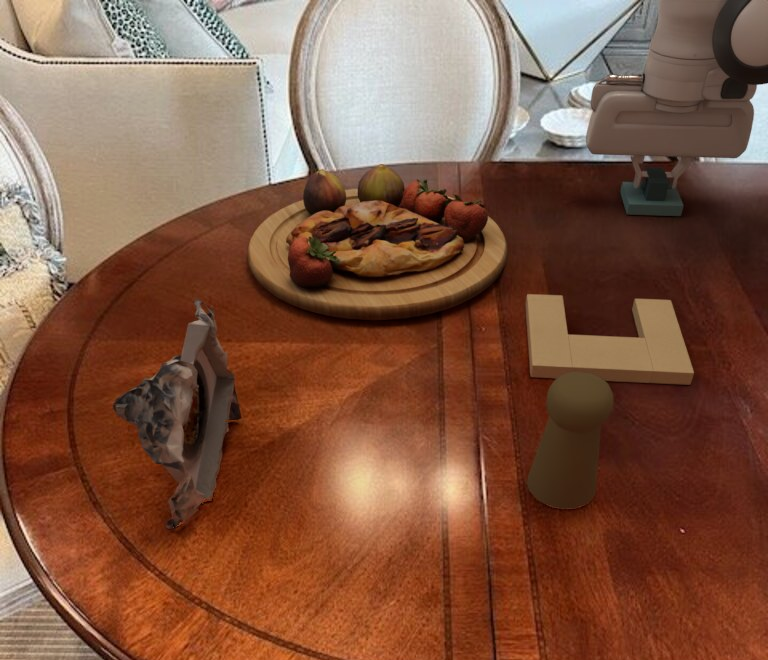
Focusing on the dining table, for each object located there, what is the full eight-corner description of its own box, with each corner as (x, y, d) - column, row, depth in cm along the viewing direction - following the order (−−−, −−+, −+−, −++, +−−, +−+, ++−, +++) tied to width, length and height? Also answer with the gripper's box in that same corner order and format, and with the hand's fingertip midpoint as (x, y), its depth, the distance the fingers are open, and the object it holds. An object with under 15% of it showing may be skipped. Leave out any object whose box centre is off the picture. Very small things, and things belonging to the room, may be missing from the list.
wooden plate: (352, 360, 82) (349, 289, 76) (201, 249, 100) (189, 184, 94) (560, 265, 96) (571, 199, 90) (395, 182, 114) (395, 122, 108)
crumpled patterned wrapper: (200, 419, 75) (173, 297, 66) (243, 421, 75) (222, 299, 66) (150, 531, 65) (110, 406, 56) (201, 535, 65) (169, 409, 55)
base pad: (667, 311, 89) (671, 299, 88) (690, 385, 79) (694, 372, 78) (525, 305, 90) (527, 293, 89) (530, 377, 80) (532, 365, 79)
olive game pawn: (518, 499, 67) (535, 396, 60) (536, 456, 71) (554, 354, 64) (588, 518, 66) (615, 414, 58) (602, 472, 70) (629, 370, 62)
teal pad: (671, 193, 110) (679, 164, 107) (680, 216, 105) (688, 186, 102) (620, 192, 111) (626, 163, 108) (626, 214, 106) (633, 185, 103)
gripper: (597, 82, 95) (578, 194, 105) (771, 85, 94) (735, 199, 103) (592, 65, 99) (574, 175, 109) (758, 69, 98) (724, 180, 108)
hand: (653, 187), depth 106 cm, fingers closed on teal pad, 2 cm apart
